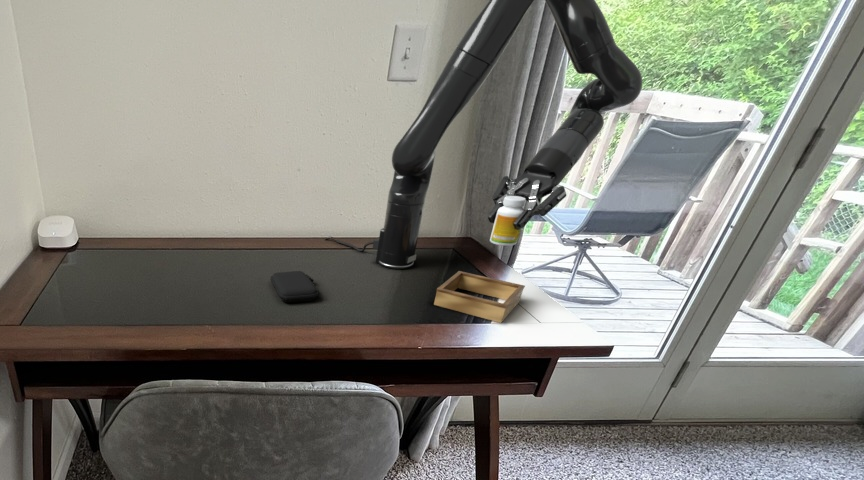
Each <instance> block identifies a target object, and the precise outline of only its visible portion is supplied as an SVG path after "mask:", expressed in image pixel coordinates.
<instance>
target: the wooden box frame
mask: <svg viewBox="0 0 864 480" xmlns="http://www.w3.org/2000/svg"><path fill="white" fill-rule="evenodd" d="M525 288H526V285H523V284H520V283H515V282H511V281H506V280H502V279H498V278H492V277H488V276H483V275H479V274H476V273H475V274H474V273H470V272H467V271H466V272H465V271H461V270H458V271H457V272H455V274H453V275H452V276H451V277H449V278H448V279H447V280H445V282H443V283H442V284H441V285H439V286H438V287H437V288H436V293H435V298H434V302H433V305H434V306H437V307H440V308H444V309H448V310H451V311H456V312H459V313H463V314H466V315H469V316H473V317H477V318H481V319H485V320H487V321H492V322H496V323H499V324H502V322H503V321H504V320H505V318H507V317H508V315H510V313H511V312H512V311H513V310H514V309H515V307H516V306H517V305H518V304H519V303H520V301H521V298H522V295H523V292H524V290H525ZM458 289H460V290H465V291H467V292H471V293H476V294H479V295H480V294H481V295H484V296H489V297H492V298H496V299H500V300H505V301H504V302H499V301H496V300H491V299H487V298H482V297H479V296H475V295H471V294H467V293H463V292H459V291H456V290H458Z"/></svg>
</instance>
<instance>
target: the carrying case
mask: <svg viewBox="0 0 864 480" xmlns="http://www.w3.org/2000/svg"><path fill="white" fill-rule="evenodd" d="M270 282H271V284H272V286H273V288H274V290H275V292H276V294H277V296H278V297H279V299H280V300H281V301H282V302H284V303H299V302H307V301H315V300H316V298H318V296H319V290H318V288H317V286H316V285H315V284H314V283H313V282H314V278H313V277H312V276H310V275H309V274H306V273H305V272H304V271H302V270H292V271H279V272H278V271H277V272H274V273H273V274H272V275H271V276H270Z"/></svg>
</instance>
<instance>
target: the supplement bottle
mask: <svg viewBox="0 0 864 480" xmlns="http://www.w3.org/2000/svg"><path fill="white" fill-rule="evenodd" d="M526 201H527V200H526V199H525V198H523V197H519V196H516V195H514V196H506V197H505V198H504V201H503V205H504V206H502V207H500V208H499V209H498V211H497V214H496V218H495V222H494V223H493V224H492V225H493V226H492V229H491V234H490V237H489V242H490V243H491V244H493V245H497V246H499V247H500V246H501V247H511V246H515V245H516V244H517V243H518V240H519V236H520V233H521V230H522V228H520V229H519V230H516V229H515V228H514V226H513V223H514V222H515V221H516V219H517V218H518V217H519V216H520V214H521V213H522V212H523V211H524V210H525V208H523V207H524V206H525V204H526Z"/></svg>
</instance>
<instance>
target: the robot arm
mask: <svg viewBox="0 0 864 480" xmlns="http://www.w3.org/2000/svg"><path fill="white" fill-rule="evenodd" d="M544 1H545V4H546V5H547V7H548V9H549V11H550V13H551V16H552V18H553V21H554V23H555V26H556V28H557V31H558V33H559V36H560V39H561V41H562V44H563V46H564V49H565V51H566V53H567V55H568V57H569V60H570V62H571V63H572V66H573V68H574V70H575V72H576V73H577V74H578V75H579V74H580V75H585V74H586V75H588V74H591V75H594V76H595V77H596V78H595V79H593V80H591V81H590V82H588V83H587V85H585V86H584V87H583V88H582V90H580V91H579V93H578V95H577V97H576V99H575V101H574V103H573V105H572V107H571V109H570V111H569V114H568V116H567V118H565V120H564V121H563V122H562V124H561V125H560V126H559V127H558V128H557V130H556V131H555V132H554V133H553V134H552V135H551V136H550V137H549V138H548V139H547V140H546V142H545V143H544V144H543V145H542V146H541V147H540V149H539V150H538V151H537V153H536V154H535V155H534V156H533V157H532V159H531V160H530V161H529V162H528V164H527V165H526V166H525V168H524V170H523V172H522V173H521V175H519V176H517V177H516V178H510V177H509V176H508V175H505V176H503V177H502V178H501V181H500V182H499V184H498V185H497V187H496V190H495V191H494V193H493V194H492V196H491V199H492V201H493V203H494V206H493V207H492V209H491V210H490V212H489V213H488V214H487V219H488V221H489V223H491V224H494V222H495V218H496V214H497V211H498V209H499V208H500V207H502V206H504V205H503V201H504V198H505V197H506V196H519V197H523V198H525V199H526V200H525V201H526V202H528V204H527V207H526V209H524V211H523V212H522V213H521V214H520V216H519V217H518V218H517V219H516V221H515V222H514V223H513V226H514V228H515V229H516V230H519V229H520V228H521V229H523V228H525V226H526V225H527V224H528V223H529V222H530V220H531V219H532V218H533V217H535V216H540V217H545V216H546V215H547V214H549V212H551V211H552V210H553V209H554V208H555V207H556V206H557V205H559V203H561V202H562V201H563V200H564V199H565V198H567V191H566V189H565V187H564V185H560V183H562V181H563V180H564V179H565V177H566V176H567V175H568V174H569V172H571V170H572V169H573V168H574V166H575V165H576V164H577V163H578V162H579V160H580V159H581V158H582V157H583V155H584V153H585V151H586V150H587V149H588V147H589V146H590V145H591V144H592V143H593V141H594V140H595V139H596V138H597V136H598V135H599V134H600V132H601V131H602V129H603V127H604V125H605V119H604V117H603V115H602V114H604V113H606V112H609V111H612V110H616V109H619V108H622V107H623V108H624V107H626V106H628V105H630V104H632V103H633V102H635V101H636V99H638V97H639V96H640V94H641V92H642V89H643V76H642V73H641V71H640V69H639V68H638V67H637V65H636V64H635V63H634V62H633V60H631V59H630V57H629V56H628V55H627V54H626V53H625V52H624V51H623V50H622V48H620V47H619V46H618V45H617V43H616V40H615V38H614V35H613V33H612V31H611V28H610V26H609V23H608V21H607V19H606V17H605V15H604V13H603V11H602V10H601V8H600V6H599V5H598V3H597V1H596V0H544ZM534 2H535V0H488V2H487V3H486V5H485V6H484V7H483V8H482V9H481V11H480V12H479V14H478V15H477V16H476V18H475V19H474V20H473V21H472V23H471V24H470V26H469V27H468V28H467V30H466V31H465V33H464V34H463V36H461V39H460V40H459V42H458V43H457V44H456V47H455V49H454V50H453V51H452V53H451V55H450V57H449V58H448V60H447V62H446V63H445V65H444V67H443V69H442V70H441V72H440V74H439V76H438V78H437V80H436V81H435V83H434V85H433V87H432V89H431V91H430V93H429V95H428V97H427V99H426V101H425V103H424V105H423V107H422V109H421V110H420V111H419V113H418V115H417V116H416V118H415V120H414V121H413V122H412V123H411V124H410V127H409V128H408V129H407V131H405V134H403V136H402V137H401V139H400V140H399V141H398V143H396V145H395V146H394V149H393V151H392V153H391V165H392V168H393V170H394V171H393V178H392V181H391V184H390V186H389V190H388V196H387V203H386V210H385V216H384V223H383V227H382V228H381V229H379V236H378V237H377V238H375V239H373V241H368V242H367V243H365V244H364V245H363V246H362V248H358V247H357V246H355V245H353V244H351V243H348V242H344V241H341V240H339V239H337V240H334V239H336V238H335V237H333V236H330V237H331V238H334V239H330V238H327V237H325V238H324V239H323V240H324V241H328V240H333V241H334V242H335V243H337V244H341V245H344V246H347V247H349V248H353V249H354V250H356V251H357V252H361V253H362V252H365V250H366V248H367V247H368V246H369V245H370V246H371V245H372V249H373V250H376V257H375V264H379V265H380V266H382V267H385V268H388V269H393V270H394V269H395V270H405V269H410V268H412V267H413V266H414V263H415V261H416V260H417V254H416V250H417V244H418V240H419V235H420V230H421V229H420V228H421V224H422V218H423V213H424V208H425V202H426V198H427V193H428V190H429V187H430V182H431V178H432V174H433V168H434V163H435V159H436V149H437V147H438V145H439V143H440V142H441V140H442V138H443V136H444V135H445V133H446V131H447V129H448V128H449V127H450V125H451V124H452V122H453V121H454V120H455V119H456V118H457V117H458V115H459V114H460V113H461V112H462V111H463V110H464V108H465V107H466V106H467V105H468V104H469V103H470V102H471V100H472V99H473V98H474V96H475V95H476V94H477V92H478V91H479V90H480V88H481V87H482V85H483V84H484V83H485V81H486V80H487V79H488V77H489V75H490V73H492V71H493V69H494V68H495V66H496V65H497V63H498V61H499V60H500V58H501V56H503V53H504V52H505V50H506V48H507V47H508V45H509V44H510V42H511V40H512V38H513V37H514V35H515V33H516V31H517V29H518V28H519V26H520V24H521V22H522V21H523V18H524V17H525V15H526V14H527V12H528V10H529V9H530V8H531V6H532V4H533V3H534ZM546 196H547V197H546ZM544 197H546V198H545V199H544V200H543V198H544Z"/></svg>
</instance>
